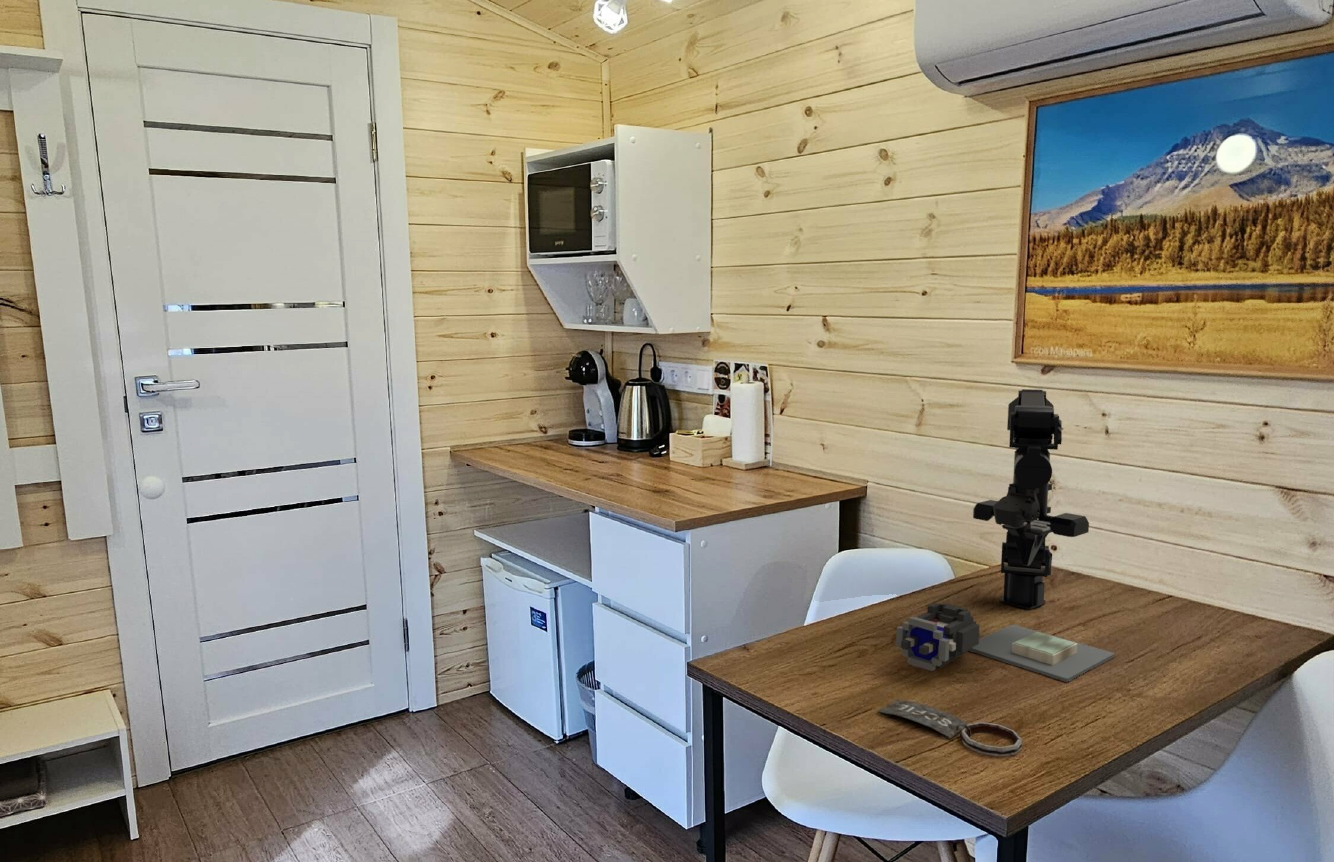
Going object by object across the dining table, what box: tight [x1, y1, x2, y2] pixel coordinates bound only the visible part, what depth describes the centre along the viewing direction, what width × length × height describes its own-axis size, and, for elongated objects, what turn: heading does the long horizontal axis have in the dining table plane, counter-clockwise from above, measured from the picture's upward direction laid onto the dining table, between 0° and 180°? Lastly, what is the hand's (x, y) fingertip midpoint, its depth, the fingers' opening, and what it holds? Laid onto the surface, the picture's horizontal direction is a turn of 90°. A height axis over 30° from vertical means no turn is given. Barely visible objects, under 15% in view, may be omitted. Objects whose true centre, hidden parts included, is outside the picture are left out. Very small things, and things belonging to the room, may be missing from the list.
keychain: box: [876, 699, 1023, 758], centre depth 120 cm, size 8×19×2 cm, turn 45°
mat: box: [967, 624, 1116, 683], centre depth 147 cm, size 18×16×1 cm
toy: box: [895, 602, 980, 672], centre depth 142 cm, size 9×9×15 cm
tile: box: [1012, 631, 1078, 665], centre depth 146 cm, size 8×2×7 cm
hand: (1026, 565), depth 156 cm, fingers closed
